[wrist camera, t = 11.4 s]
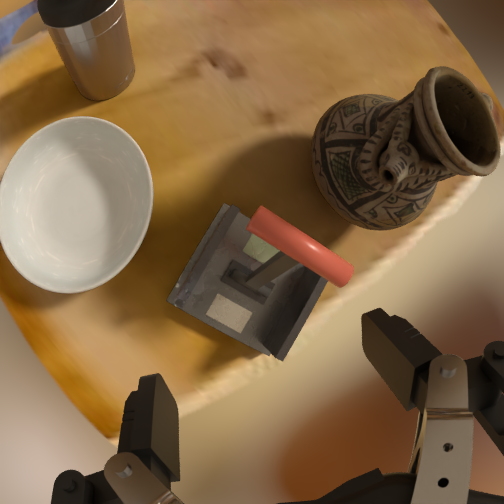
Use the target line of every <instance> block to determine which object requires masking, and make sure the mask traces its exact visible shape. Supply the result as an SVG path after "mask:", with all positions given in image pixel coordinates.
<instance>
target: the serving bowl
mask: <svg viewBox="0 0 504 504" xmlns="http://www.w3.org/2000/svg"><path fill="white" fill-rule="evenodd" d="M152 208H153V181H152V176H151V171H150V168H149V165H148V162H147V160H146V158H145V155H144V154H143V152H142V150H141V149H140V147H139V145H138V144H137V143H136V142H135V140H134V139H133V138H132V137H131V136H130V135H129V134H128V133H127V132H125V131H124V130H123V129H121V128H120V127H118V126H117V125H115V124H113V123H111V122H109V121H106V120H103V119H100V118H95V117H87V116H79V117H70V118H65V119H61V120H58V121H56V122H53V123H51V124H49V125H47V126H45V127H44V128H42V129H40V130H39V131H37V132H36V133H35V134H33V135H32V136H31V137H30V138H29V139H27V140H26V141H25V142H24V143H23V145H22V146H21V147H20V148H19V149H18V150H17V152H16V153H15V155H14V156H13V158H12V159H11V161H10V163H9V164H8V166H7V168H6V170H5V173H4V175H3V178H2V181H1V184H0V242H1V244H2V247H3V249H4V251H5V254H6V256H7V257H8V259H9V261H10V262H11V264H12V265H13V266H14V268H15V269H16V270H17V271H18V272H19V273H20V274H21V275H22V276H23V277H24V278H25V279H27V280H28V281H29V282H31V283H32V284H34V285H36V286H38V287H40V288H42V289H45V290H48V291H51V292H56V293H65V294H70V293H79V292H84V291H88V290H91V289H94V288H96V287H98V286H101V285H102V284H104V283H106V282H107V281H109V280H110V279H112V278H113V277H115V276H116V275H117V274H118V273H119V272H120V271H121V270H122V269H123V268H124V267H125V266H126V265H127V264H128V263H129V262H130V260H131V259H132V258H133V256H134V255H135V254H136V252H137V250H138V249H139V247H140V245H141V243H142V241H143V239H144V237H145V234H146V232H147V229H148V226H149V222H150V218H151V214H152Z"/></svg>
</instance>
